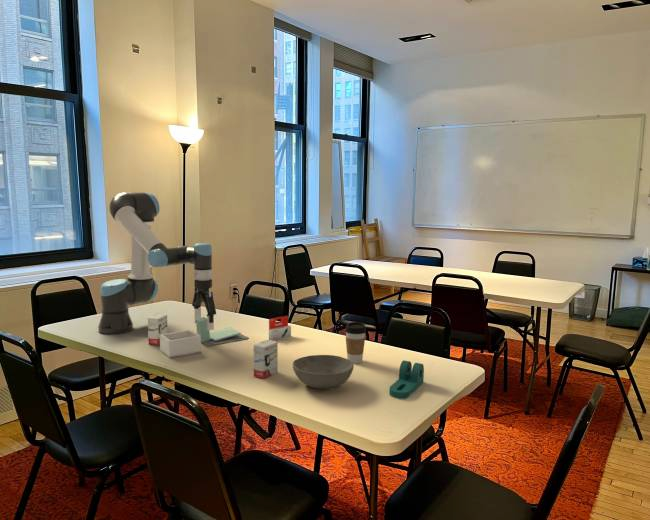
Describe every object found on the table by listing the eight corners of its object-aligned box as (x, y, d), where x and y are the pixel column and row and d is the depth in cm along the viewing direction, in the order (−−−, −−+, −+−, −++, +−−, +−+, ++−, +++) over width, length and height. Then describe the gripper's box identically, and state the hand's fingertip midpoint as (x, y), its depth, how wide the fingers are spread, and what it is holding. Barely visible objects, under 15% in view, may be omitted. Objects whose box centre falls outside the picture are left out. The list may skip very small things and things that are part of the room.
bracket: (405, 379, 179) (406, 358, 178) (423, 382, 176) (424, 361, 175) (386, 396, 164) (387, 373, 162) (405, 400, 160) (406, 377, 159)
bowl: (281, 391, 166) (282, 368, 165) (305, 370, 185) (305, 350, 184) (342, 401, 158) (342, 377, 157) (360, 379, 178) (360, 357, 177)
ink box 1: (158, 345, 212) (157, 318, 211) (148, 344, 213) (147, 317, 211) (168, 339, 221) (167, 313, 219) (158, 338, 222) (157, 313, 220)
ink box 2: (263, 379, 176) (263, 347, 174) (252, 376, 179) (252, 344, 177) (278, 372, 183) (278, 341, 182) (267, 369, 186) (267, 339, 184)
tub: (160, 350, 205) (159, 334, 204) (190, 345, 213) (190, 329, 212) (169, 358, 196) (169, 341, 195) (200, 352, 204) (200, 335, 203)
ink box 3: (291, 336, 228) (291, 316, 227) (271, 341, 221) (271, 320, 219) (288, 335, 230) (288, 315, 229) (268, 340, 223) (268, 319, 221)
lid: (195, 339, 222) (192, 317, 220) (230, 329, 232) (227, 308, 230) (205, 345, 214) (202, 322, 212) (240, 335, 224) (238, 313, 222)
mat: (193, 337, 224) (192, 336, 224) (233, 330, 236) (233, 329, 236) (207, 346, 212) (207, 345, 212) (249, 338, 224) (249, 337, 224)
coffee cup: (367, 359, 199) (368, 323, 197) (362, 366, 191) (363, 328, 189) (347, 356, 202) (348, 320, 199) (341, 363, 194) (342, 326, 192)
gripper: (184, 275, 223) (185, 321, 226) (207, 284, 203) (207, 334, 206) (199, 273, 227) (200, 318, 230) (223, 282, 208) (224, 331, 211)
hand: (204, 326), depth 218 cm, fingers open, 13 cm apart
